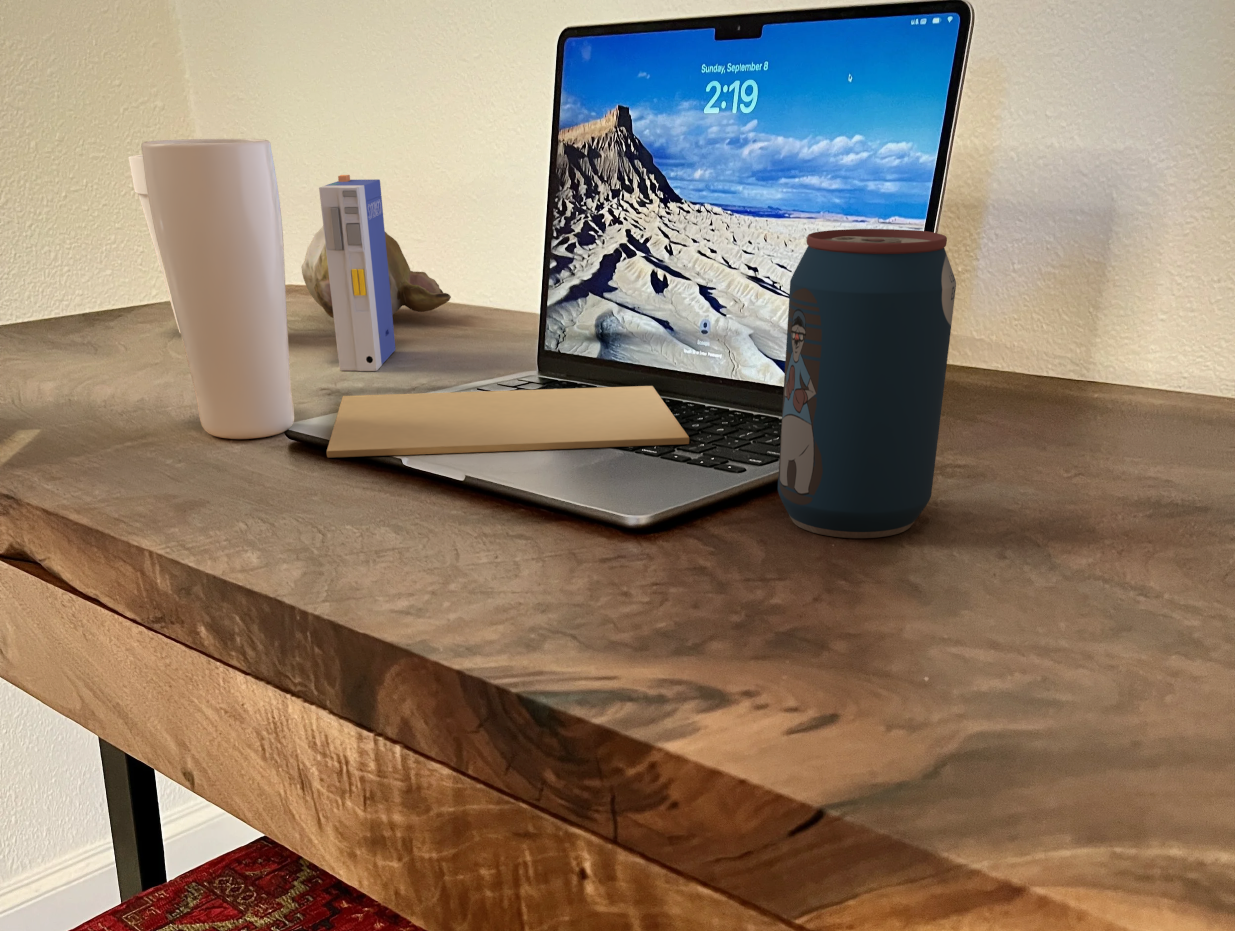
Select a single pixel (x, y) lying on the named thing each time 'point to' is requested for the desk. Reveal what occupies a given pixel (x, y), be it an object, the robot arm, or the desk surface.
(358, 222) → the walkman
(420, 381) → the desk surface
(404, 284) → the ceramic sculpture
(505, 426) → the cork mat
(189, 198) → the white tumbler
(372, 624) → the desk surface
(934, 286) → the soda can
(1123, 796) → the desk surface
